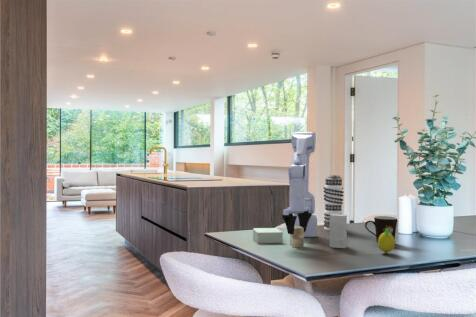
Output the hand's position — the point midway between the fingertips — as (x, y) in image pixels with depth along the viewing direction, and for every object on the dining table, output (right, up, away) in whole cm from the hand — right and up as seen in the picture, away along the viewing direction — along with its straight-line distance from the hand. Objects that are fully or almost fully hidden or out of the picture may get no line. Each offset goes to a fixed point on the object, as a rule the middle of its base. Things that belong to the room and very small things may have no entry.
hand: (296, 232), depth 157 cm
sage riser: (-10, -5, +10) cm, 15 cm away
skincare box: (+15, -5, -1) cm, 16 cm away
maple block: (0, -5, 0) cm, 5 cm away
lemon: (+30, -6, -11) cm, 32 cm away
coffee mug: (+34, -6, +8) cm, 35 cm away
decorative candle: (+22, -5, +38) cm, 45 cm away
